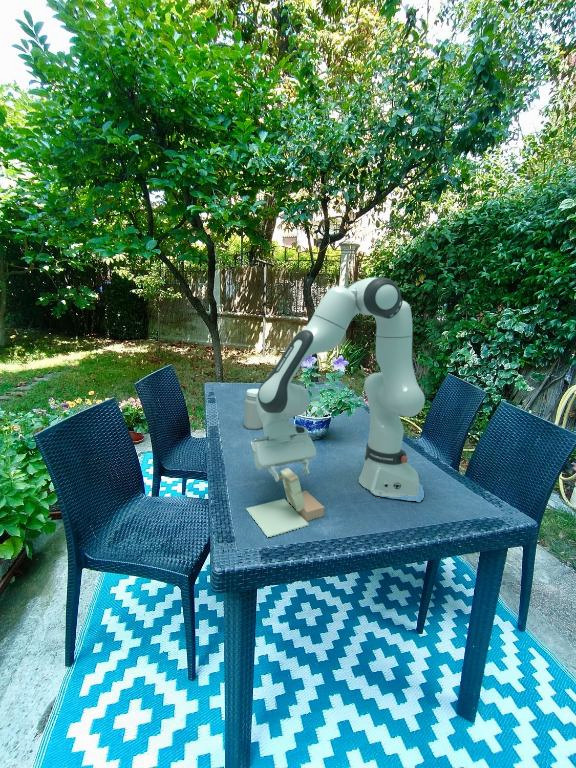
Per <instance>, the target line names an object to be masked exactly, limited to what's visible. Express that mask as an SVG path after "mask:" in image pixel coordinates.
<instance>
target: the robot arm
mask: <svg viewBox="0 0 576 768" xmlns="http://www.w3.org/2000/svg"><path fill="white" fill-rule="evenodd" d="M359 314H361V315H363V316H364V315H365V316H373V317H374V319H375V323H376V332H375V336H376V337H375V359H376V363H377V364H378V367H379V368H380V372H374V373H371V374H369V376H367V378H366V379H365V381H364V384H363V390H364V393H365V395H366V398H367V401H368V403H367V404H368V409H369V419H370V421H369V422H370V424H369V433H368V442H367V444H366V446H365V452H364V464H363V465H362V466H363V468H362V469H361V473H360V475H359V477H358V479H359V481H358V483H360V484H361V485H362V486H363V487H365V488H367V489H369V490H370V491H371V492H372V493H373V494H374V495H378V496H389V497H401V496H402V495H403V496H404V495H408V496H417V495H418V493H419V482H420V477H419V474H418V471H417V470H416V469H415V468H414V467H413V466H411V465H410V463H408V461H409V460H408V459H409V458H408V456H407V453H406V450H405V449H402V446H403V445H402V444H403V438H404V433H405V431H404V425H403V423H402V420H401V418H400V416H401V417H405V418H412V417H415V416H417V415H418V414H420V413H421V411H422V410H423V408H424V406H425V402H426V401H425V400H426V397H425V394H424V392H423V390H422V389H421V387H420V385H419V383H418V381H417V378H416V374H415V373H416V372H415V370H414V366H413V317H412V309H411V306H410V304H409V303H408V302H407V301H405V300H403V298H402V293H401V290H400V288H399V286H398V285H397V283H396V282H395V281H394V280H392V279H390V278H387V277H373V276H372V277H367V278H364V279H357V280H356V281H353V282H352V283H350V284H349V285H348V286H346V287H344V286H338V285H337V286H333V287H330V289H328V291H327V292H326V293H325V294H324V296H323V297H322V298H321V300H320V302H319V303H318V305H317V307H316V308H315V311H314V312H313V315H312V317H311V319H310V320H309V322H308V323H307V324H306V326H305V327H304V329H302V330H301V331H299V332H298V333H297V334H296V335H295V336H294V337H293V338H292V340H291V341H290V343H289V344H288V346H287V347H286V348H285V349H286V350H285V351H284V352H283V354H282V355H281V357H280V359H279V360H278V362H277V364H276V366H275V367H274V368H273V370H272V372H271V373H270V374H269V375H268V376H267V377H266V378H265V379H264V380H263V382H262V383H261V384H260V386H259V388H258V389H259V391H258V393H257V395H256V406H257V411H258V414H259V418H260V420H261V421H262V423H263V427H262V432H263V434H264V436H263V437H257V438H253V440H251V442H250V449H251V451H252V453H253V460H254V466H255V468H256V469H257V470H259V471H260V470H265V469H268V472H269V473H270V474H271V475H272V476H273V477H274V481H275V482H276V483H277V482H278V483H279V482H281V481H283V480H282V476H281V473H278V472H277V470H276V467H280V466H286V465H291V464H294V463H295V464H296V463H300V462H301V464H302V465H303V469H302V470H300V471H301V473H302V476H303V477H304V476H305V477H306V476H308V475H309V474H310V471H309V466H310V465H309V464H310V461H311V460H313V459H315V457H316V456H317V448H316V446H315V444H314V442H313V440H312V438H311V436H310V435H308V429H307V427H305V426H301V425H297V424H296V425H295V424H292V423H291V421H290V419H291V418H296V417H297V416H300V415H302V414H304V413H306V412H307V410H308V409H309V407H310V405H311V394H310V392H309V390H308V388H306V387H304V386H303V385H300V384H297V383H291V382H292V380H293V378H294V377H295V375H296V374H297V372H298V370H299V369H300V367H301V366H302V364H303V363H304V362H305V360H306V359H307V358H309V357H310V356H312V355H315V354H320V353H327V352H330V351H332V350H335V349H336V348H337V346H338V345H339V344H340V343H341V342H342V340H343V338H344V335H346V332H347V330H348V327H349V326H350V323H351V321H352V320H353V319H354V318H355V316H356V315H359ZM360 484H359V485H360ZM361 485H360V486H361ZM362 486H361V487H362ZM363 487H362V488H363ZM365 488H364V489H365ZM379 493H381V494H379ZM398 495H399V496H398ZM400 495H401V496H400ZM403 496H402V497H403ZM406 497H407V496H406Z"/></svg>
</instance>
